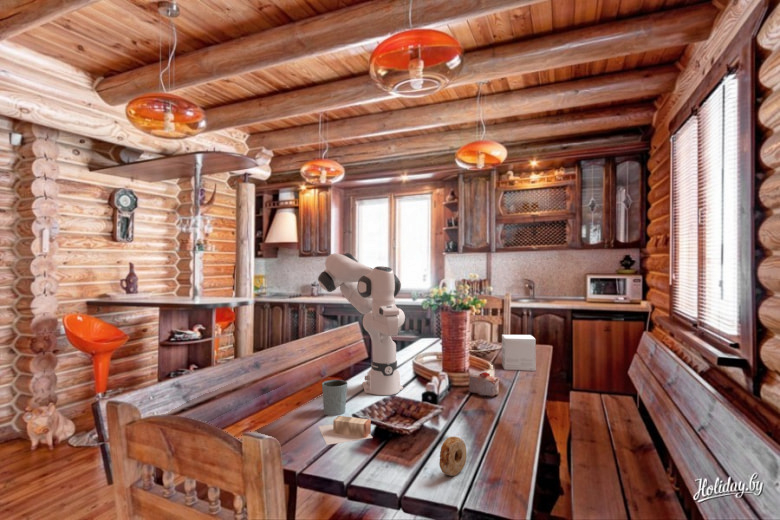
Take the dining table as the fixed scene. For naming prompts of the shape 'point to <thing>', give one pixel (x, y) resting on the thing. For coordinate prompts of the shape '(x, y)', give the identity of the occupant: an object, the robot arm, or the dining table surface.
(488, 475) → the dining table surface
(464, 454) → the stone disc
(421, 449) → the dining table surface
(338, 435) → the felt mat
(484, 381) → the food item
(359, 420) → the birch block
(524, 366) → the supplement box
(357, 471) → the dining table surface
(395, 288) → the robot arm
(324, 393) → the grey green cup
